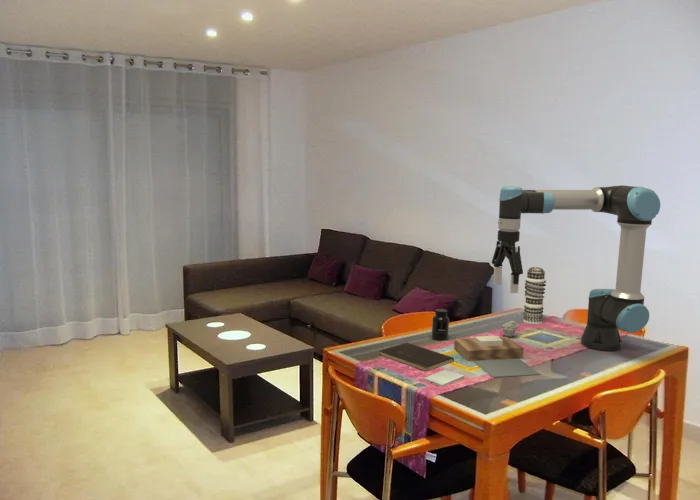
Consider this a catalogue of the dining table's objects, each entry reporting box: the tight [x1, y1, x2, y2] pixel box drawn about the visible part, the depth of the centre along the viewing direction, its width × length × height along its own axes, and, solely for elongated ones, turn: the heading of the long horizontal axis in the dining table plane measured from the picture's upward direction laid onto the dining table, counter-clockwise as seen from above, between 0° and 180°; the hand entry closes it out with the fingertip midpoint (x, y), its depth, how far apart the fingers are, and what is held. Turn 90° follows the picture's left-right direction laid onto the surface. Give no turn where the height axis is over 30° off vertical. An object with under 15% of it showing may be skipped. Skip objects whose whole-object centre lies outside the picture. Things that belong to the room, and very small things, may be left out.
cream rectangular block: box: [474, 335, 503, 347], centre depth 233 cm, size 9×6×2 cm, turn 101°
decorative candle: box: [522, 266, 547, 325], centre depth 277 cm, size 9×9×25 cm
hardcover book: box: [379, 342, 455, 372], centre depth 228 cm, size 16×23×2 cm
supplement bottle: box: [431, 308, 450, 341], centre depth 251 cm, size 7×7×12 cm
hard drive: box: [422, 369, 465, 388], centre depth 207 cm, size 2×8×12 cm
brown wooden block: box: [453, 336, 524, 362], centre depth 234 cm, size 22×14×4 cm, turn 101°
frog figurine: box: [501, 320, 520, 338], centre depth 255 cm, size 6×7×7 cm
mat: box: [473, 358, 541, 378], centre depth 219 cm, size 18×16×1 cm
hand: (505, 288), depth 220 cm, fingers open, 13 cm apart
